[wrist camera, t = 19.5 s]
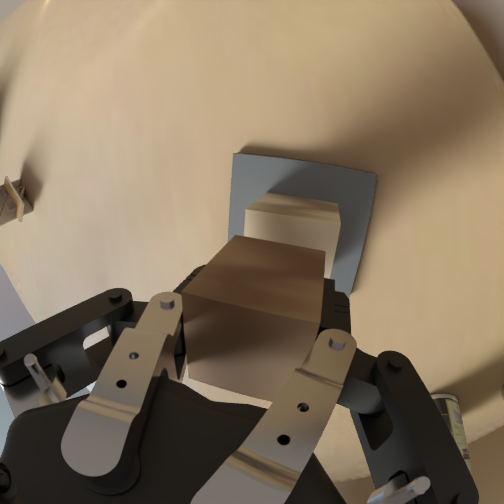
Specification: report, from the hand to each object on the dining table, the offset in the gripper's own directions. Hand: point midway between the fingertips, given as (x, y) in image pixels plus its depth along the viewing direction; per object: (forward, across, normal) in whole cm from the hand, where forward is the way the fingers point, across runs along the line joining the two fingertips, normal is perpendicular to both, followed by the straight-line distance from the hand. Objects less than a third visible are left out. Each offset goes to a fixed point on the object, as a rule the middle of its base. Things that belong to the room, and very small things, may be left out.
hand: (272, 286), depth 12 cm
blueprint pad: (+9, 0, 0) cm, 9 cm away
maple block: (+8, 0, 0) cm, 8 cm away
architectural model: (+10, +38, 0) cm, 39 cm away
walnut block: (0, 0, 0) cm, 0 cm away
